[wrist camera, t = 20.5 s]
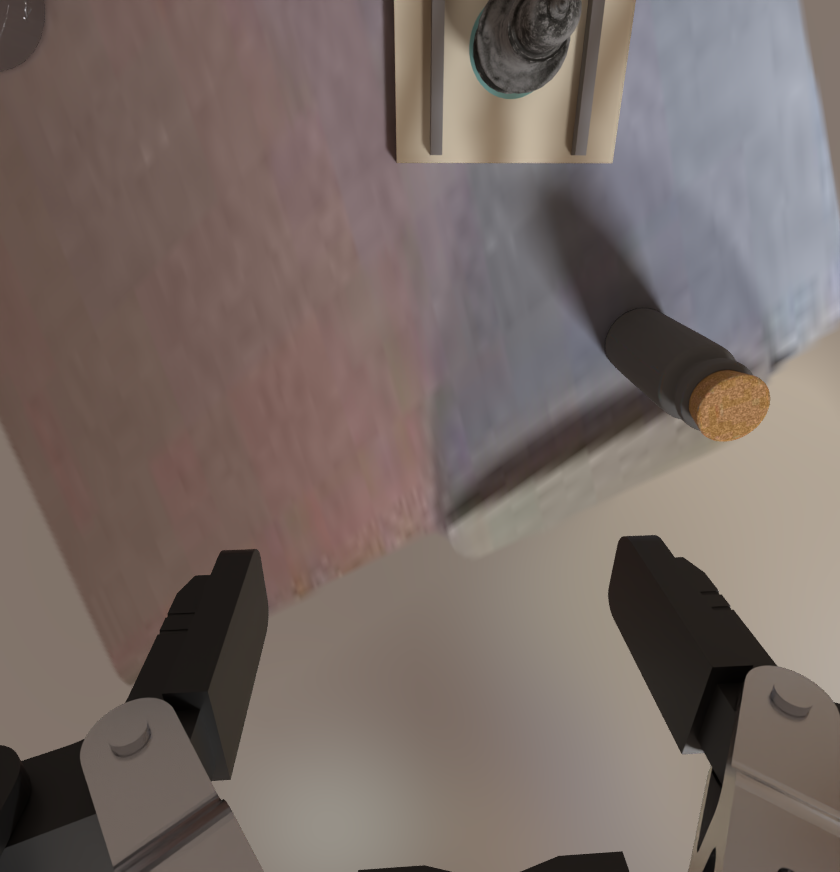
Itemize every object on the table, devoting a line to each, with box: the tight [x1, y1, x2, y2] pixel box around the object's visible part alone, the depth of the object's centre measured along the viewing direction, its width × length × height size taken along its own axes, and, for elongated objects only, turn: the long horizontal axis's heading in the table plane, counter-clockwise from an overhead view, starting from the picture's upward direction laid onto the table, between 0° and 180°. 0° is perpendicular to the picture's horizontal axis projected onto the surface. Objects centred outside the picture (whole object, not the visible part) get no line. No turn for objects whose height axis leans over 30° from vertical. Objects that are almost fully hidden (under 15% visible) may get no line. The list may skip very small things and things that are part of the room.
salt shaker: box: [473, 0, 582, 94], centre depth 32 cm, size 6×6×12 cm
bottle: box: [605, 308, 770, 441], centre depth 42 cm, size 6×6×15 cm
